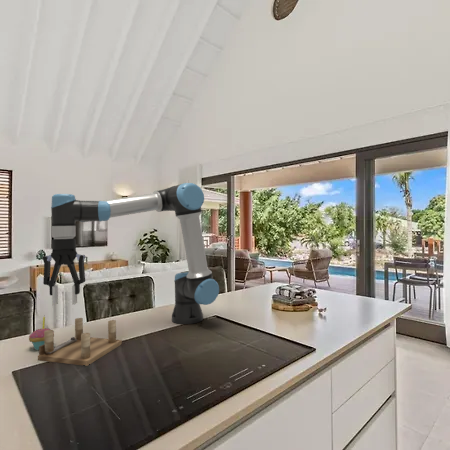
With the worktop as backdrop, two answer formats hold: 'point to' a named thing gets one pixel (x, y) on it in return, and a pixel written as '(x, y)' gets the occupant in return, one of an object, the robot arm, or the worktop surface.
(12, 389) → the worktop surface
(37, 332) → the cupcake
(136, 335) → the worktop surface
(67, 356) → the wooden peg board
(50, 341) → the gray bar with post
